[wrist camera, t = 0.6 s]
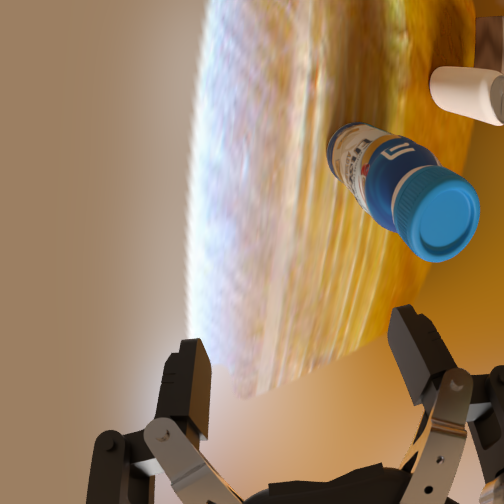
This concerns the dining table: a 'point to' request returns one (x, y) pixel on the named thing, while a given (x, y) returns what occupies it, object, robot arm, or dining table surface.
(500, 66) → the walnut block
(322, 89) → the dining table surface
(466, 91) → the can
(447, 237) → the beverage bottle
